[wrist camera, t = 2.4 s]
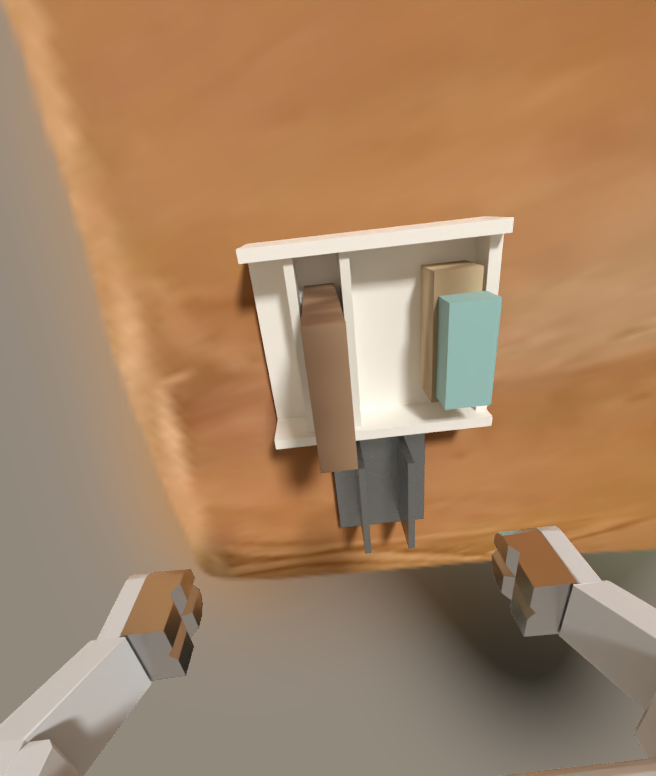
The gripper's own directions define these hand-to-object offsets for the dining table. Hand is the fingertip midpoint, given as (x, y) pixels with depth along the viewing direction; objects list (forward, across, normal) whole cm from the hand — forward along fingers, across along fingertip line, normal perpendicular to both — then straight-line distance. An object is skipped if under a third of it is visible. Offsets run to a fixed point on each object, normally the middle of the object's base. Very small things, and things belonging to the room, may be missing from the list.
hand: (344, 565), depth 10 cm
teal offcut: (+16, -9, 0) cm, 18 cm away
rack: (+20, -4, 0) cm, 20 cm away
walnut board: (+19, 0, 0) cm, 19 cm away
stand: (+20, -4, +13) cm, 24 cm away
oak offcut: (+19, -9, 0) cm, 21 cm away
